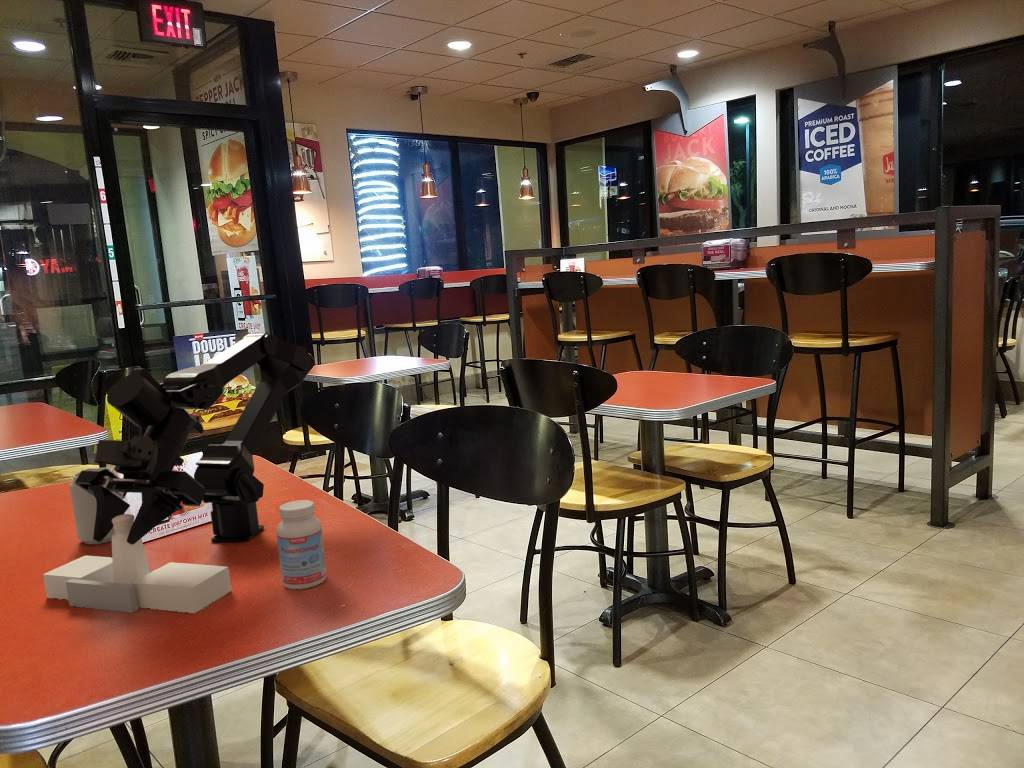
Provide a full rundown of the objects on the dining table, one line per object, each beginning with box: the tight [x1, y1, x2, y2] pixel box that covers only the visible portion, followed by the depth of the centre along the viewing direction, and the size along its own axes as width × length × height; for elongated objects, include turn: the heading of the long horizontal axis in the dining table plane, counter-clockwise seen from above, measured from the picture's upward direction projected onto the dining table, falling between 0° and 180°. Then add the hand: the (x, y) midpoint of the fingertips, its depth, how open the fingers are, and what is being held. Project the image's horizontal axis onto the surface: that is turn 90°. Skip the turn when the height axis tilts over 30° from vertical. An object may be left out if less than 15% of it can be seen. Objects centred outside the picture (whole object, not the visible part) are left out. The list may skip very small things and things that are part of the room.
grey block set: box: [42, 555, 232, 614], centre depth 105 cm, size 26×8×4 cm, turn 71°
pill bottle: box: [276, 499, 327, 590], centre depth 105 cm, size 6×6×11 cm
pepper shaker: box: [111, 513, 151, 584], centre depth 106 cm, size 5×5×11 cm
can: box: [69, 467, 120, 545], centre depth 130 cm, size 8×8×12 cm
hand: (112, 542), depth 104 cm, fingers open, 6 cm apart
